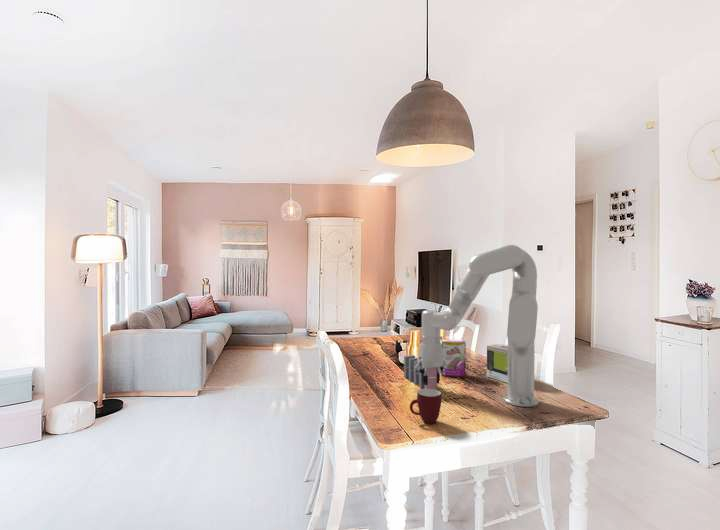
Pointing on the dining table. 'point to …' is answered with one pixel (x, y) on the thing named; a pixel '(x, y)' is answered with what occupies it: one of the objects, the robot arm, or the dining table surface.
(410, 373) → the domino
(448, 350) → the candy bar box
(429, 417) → the mug
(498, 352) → the grey toy television
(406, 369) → the domino
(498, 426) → the dining table surface
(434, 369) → the plum domino
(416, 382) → the domino
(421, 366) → the domino
